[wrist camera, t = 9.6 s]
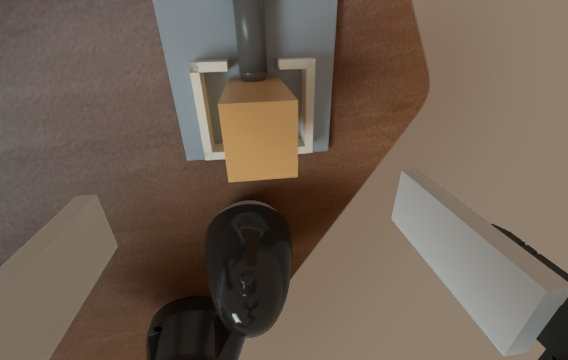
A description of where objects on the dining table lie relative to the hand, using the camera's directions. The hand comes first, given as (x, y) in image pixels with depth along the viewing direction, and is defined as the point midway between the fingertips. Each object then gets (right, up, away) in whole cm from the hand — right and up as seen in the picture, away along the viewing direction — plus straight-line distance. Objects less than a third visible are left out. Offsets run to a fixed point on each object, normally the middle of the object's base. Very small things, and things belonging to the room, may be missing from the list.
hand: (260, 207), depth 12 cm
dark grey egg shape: (-4, -4, +23) cm, 24 cm away
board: (-2, +13, +14) cm, 19 cm away
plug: (-2, +13, +13) cm, 19 cm away
